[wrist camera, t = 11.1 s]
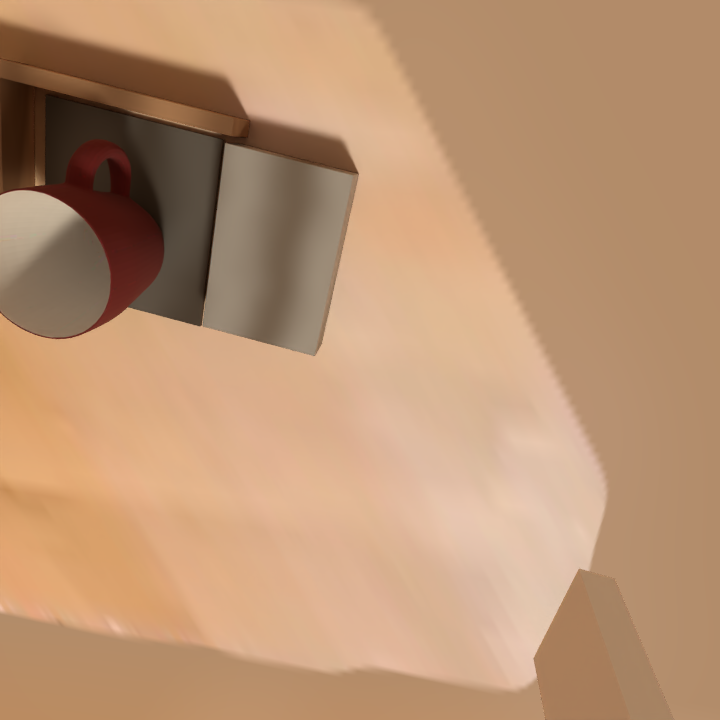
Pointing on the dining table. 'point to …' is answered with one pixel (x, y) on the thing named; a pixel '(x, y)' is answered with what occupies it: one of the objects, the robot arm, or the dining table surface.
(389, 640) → the dining table surface
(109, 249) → the mug
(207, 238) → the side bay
